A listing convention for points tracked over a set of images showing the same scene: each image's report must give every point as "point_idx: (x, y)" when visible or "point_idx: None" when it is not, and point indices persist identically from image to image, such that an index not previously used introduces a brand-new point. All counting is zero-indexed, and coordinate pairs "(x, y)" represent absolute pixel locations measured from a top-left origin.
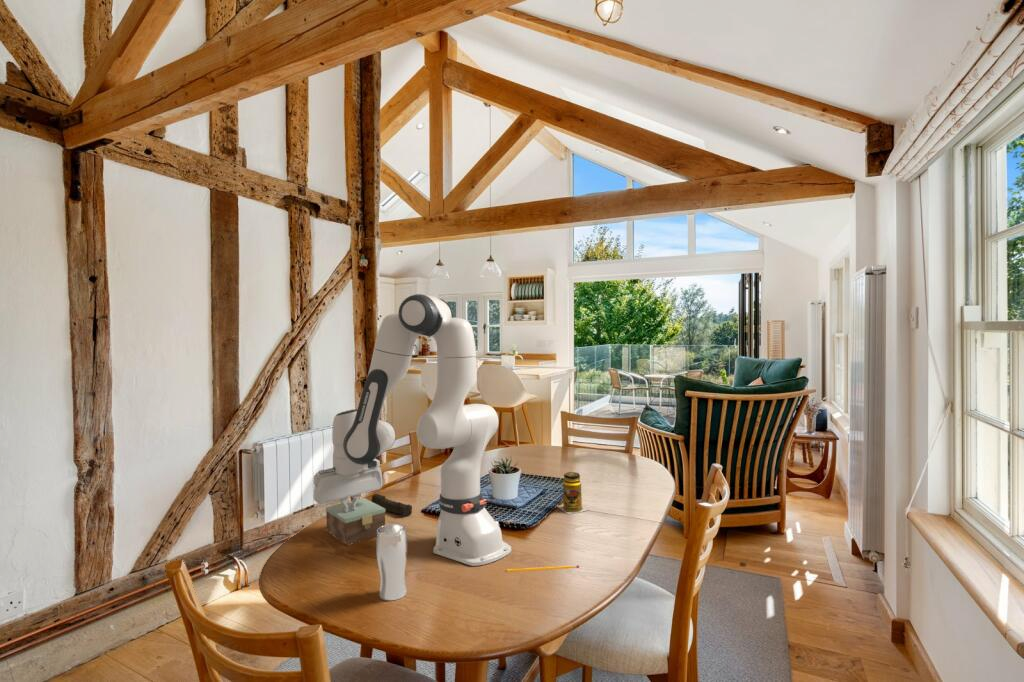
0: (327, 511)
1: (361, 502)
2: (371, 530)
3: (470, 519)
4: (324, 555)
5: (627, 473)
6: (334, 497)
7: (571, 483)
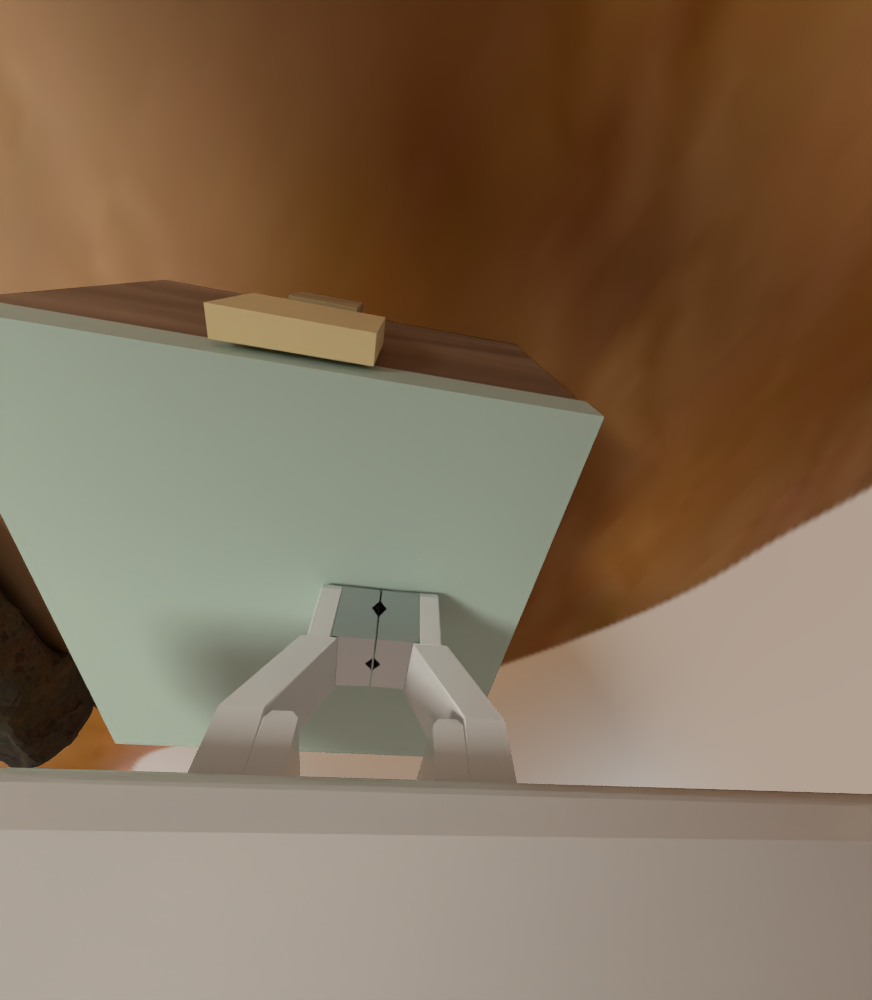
0: None
1: (176, 687)
2: None
3: None
4: (707, 337)
5: None
6: (747, 864)
7: None
